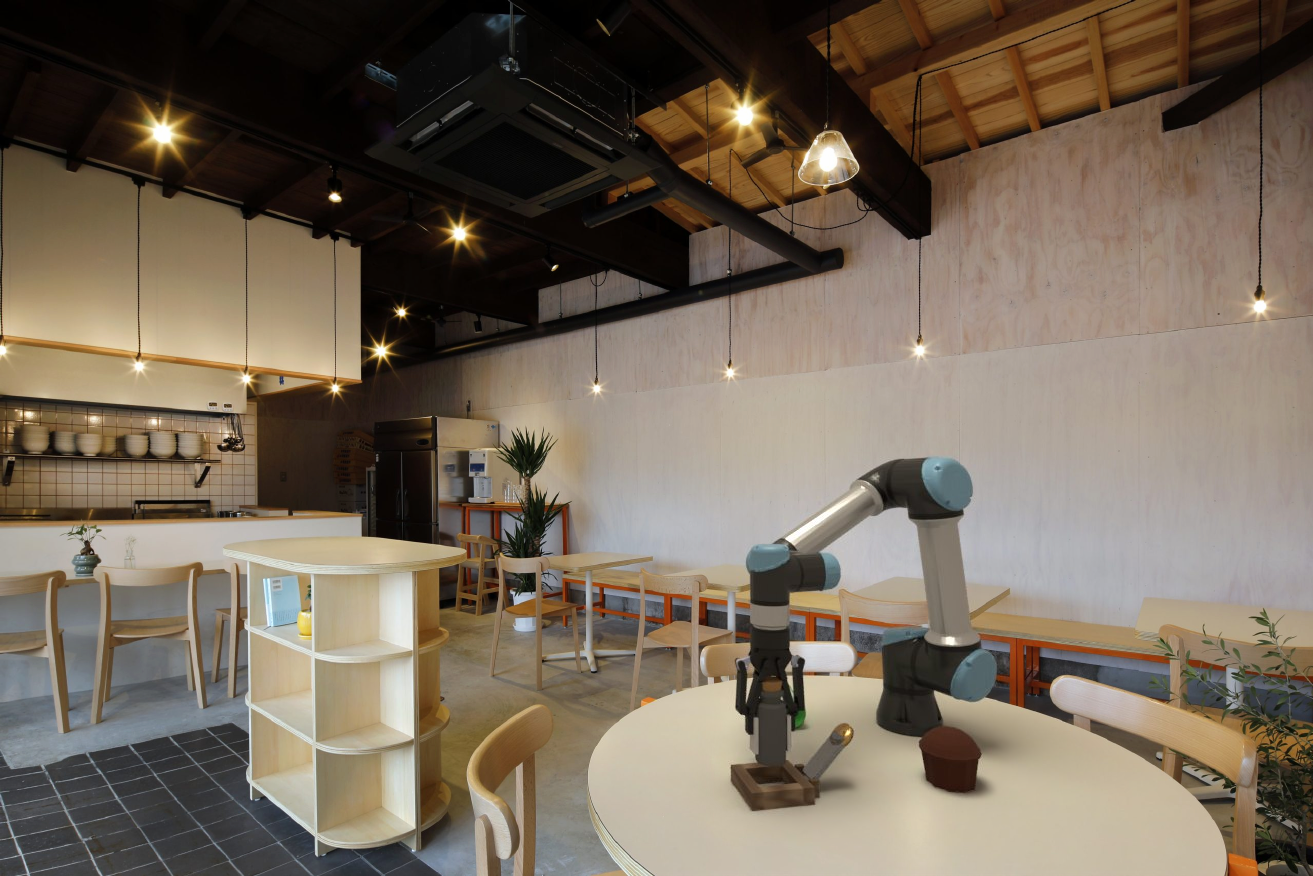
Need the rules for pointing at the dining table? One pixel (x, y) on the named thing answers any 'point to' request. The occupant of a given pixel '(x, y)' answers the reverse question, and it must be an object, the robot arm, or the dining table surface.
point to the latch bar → (828, 751)
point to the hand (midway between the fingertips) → (770, 750)
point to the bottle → (771, 724)
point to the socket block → (774, 796)
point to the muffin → (950, 759)
